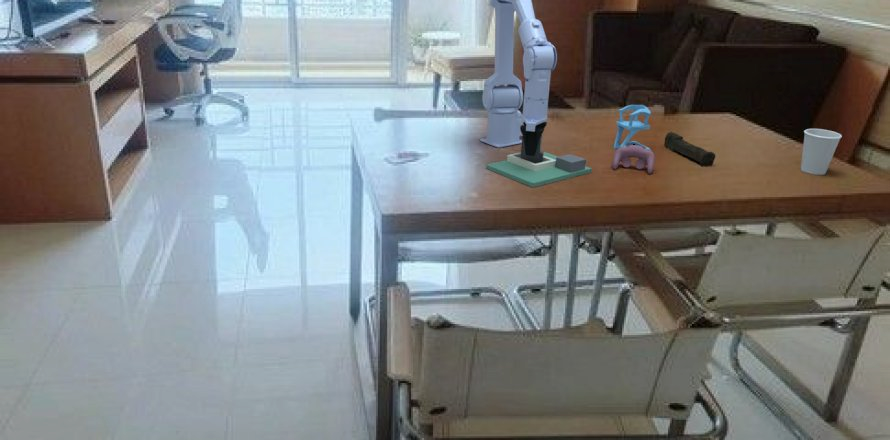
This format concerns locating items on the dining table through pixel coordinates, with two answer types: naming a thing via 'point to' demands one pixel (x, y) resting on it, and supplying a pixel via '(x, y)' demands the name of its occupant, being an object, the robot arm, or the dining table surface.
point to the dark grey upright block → (538, 155)
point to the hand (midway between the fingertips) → (531, 153)
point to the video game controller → (638, 152)
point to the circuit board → (540, 168)
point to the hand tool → (688, 149)
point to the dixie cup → (818, 150)
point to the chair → (631, 125)
